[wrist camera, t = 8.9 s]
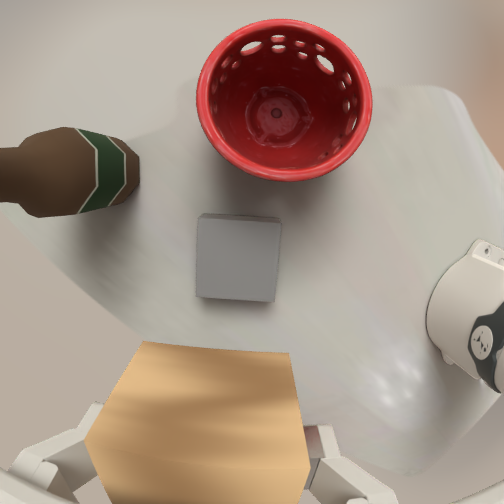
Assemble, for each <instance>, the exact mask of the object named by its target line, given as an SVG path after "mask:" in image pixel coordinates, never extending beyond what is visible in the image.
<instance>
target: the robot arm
mask: <svg viewBox="0 0 504 504" xmlns="http://www.w3.org/2000/svg"><path fill="white" fill-rule="evenodd" d="M485 249H486V251H485ZM427 330H428V334H429V336H430V338H431V340H432V342H433V343H434V344H435V345H436V346H437V347H438V348H439V349H440V350H441V352H442V357H443V360H444V361H445V362H446V363H447V364H449V365H452V364H455V363H456V364H457V365H458V366H459V367H461V368H462V369H463V370H464V371H466V372H467V373H468V374H469V375H470V376H472V377H473V378H474V379H480V378H482V379H483V380H484V382H485V384H487V385H488V386H489V387H490V388H492V389H493V390H494V391H496V392H497V393H502V394H503V395H504V250H503V249H501V248H499V247H497V246H495V245H493V244H490V243H488V242H486V241H484V240H482V239H478V240H476V241H475V242H474V243H473V245H472V246H471V248H470V249H469V251H468V252H467V254H466V255H465V256H464V257H463V258H462V259H460V260H459V261H458V262H456V263H455V264H454V265H452V266H451V267H450V268H449V269H448V270H447V271H446V273H445V274H444V275H443V276H442V278H441V279H440V281H439V282H438V284H437V286H436V287H435V289H434V292H433V294H432V296H431V299H430V302H429V306H428V311H427ZM103 406H104V404H103V403H99V402H94V403H92V405H91V406H90V408H89V409H88V411H87V412H86V414H85V416H84V417H83V419H82V420H81V422H80V423H79V426H78V427H77V428H76V429H70V430H68V431H65V432H63V433H61V434H59V435H56V436H54V437H52V438H50V439H47V440H45V441H43V442H40V443H38V444H35V445H33V446H31V447H28V448H25V449H23V450H22V451H21V453H20V454H19V455H18V457H17V458H16V460H15V461H14V463H13V464H12V465H11V467H10V468H9V470H8V471H6V470H4V469H2V468H0V504H79V502H78V501H77V499H76V498H75V496H74V494H73V493H72V492H74V491H75V490H76V489H78V488H80V487H81V486H82V485H84V484H86V483H87V482H88V481H90V480H91V479H93V478H94V477H96V476H97V475H98V474H97V472H96V469H95V467H94V465H93V462H92V460H91V458H90V455H89V453H88V451H87V448H86V446H85V443H84V441H83V440H84V439H85V437H86V435H87V433H88V432H89V430H90V428H91V426H92V425H93V423H94V421H95V419H96V418H97V416H98V414H99V413H100V411H101V409H102V408H103ZM303 429H304V434H305V440H306V445H307V450H308V456H309V461H310V467H311V469H310V472H309V475H308V478H307V480H306V483H305V486H304V489H309V491H310V492H311V493H312V494H313V495H314V496H315V497H316V498H317V500H318V501H319V502H320V503H321V504H399V503H398V501H397V498H396V496H395V493H394V491H393V490H392V489H390V488H389V487H387V486H386V485H384V484H383V483H381V482H380V481H379V480H377V479H376V478H374V477H373V476H371V475H370V474H369V473H367V472H366V471H364V470H363V469H362V468H360V467H359V466H358V465H356V464H355V463H353V462H352V461H351V460H350V459H348V458H347V457H341V453H340V450H339V447H338V443H337V440H336V437H335V433H334V430H333V427H332V425H331V424H316V425H303ZM450 504H504V480H502V481H500V482H498V483H496V484H494V485H492V486H490V487H488V488H486V489H483V490H481V491H479V492H477V493H474V494H472V495H470V496H467V497H465V498H462V499H460V500H458V501H455V502H452V503H450Z"/></svg>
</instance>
